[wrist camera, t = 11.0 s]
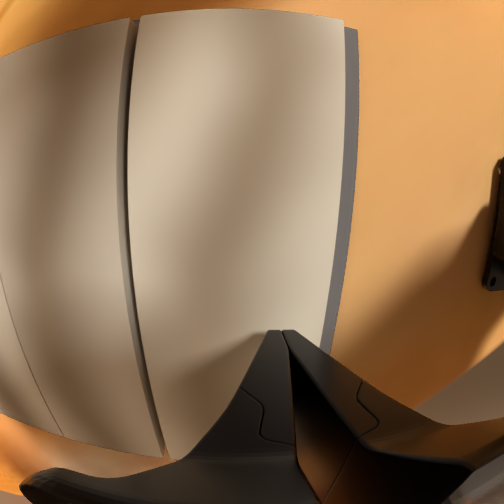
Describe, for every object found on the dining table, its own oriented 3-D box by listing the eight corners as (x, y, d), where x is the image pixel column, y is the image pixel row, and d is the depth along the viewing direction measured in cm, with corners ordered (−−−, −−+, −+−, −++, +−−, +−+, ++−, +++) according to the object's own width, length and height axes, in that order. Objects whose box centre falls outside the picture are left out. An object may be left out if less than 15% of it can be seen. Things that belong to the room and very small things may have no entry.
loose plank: (333, 33, 8) (343, 20, 6) (289, 446, 13) (291, 462, 12) (151, 29, 7) (140, 15, 6) (173, 441, 13) (169, 458, 12)
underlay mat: (354, 32, 8) (357, 29, 8) (306, 437, 13) (307, 441, 13) (-49, 90, 7) (-53, 90, 6) (4, 396, 12) (2, 399, 12)
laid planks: (140, 30, 7) (129, 17, 6) (166, 440, 13) (163, 458, 12) (-53, 98, 7) (-68, 98, 5) (4, 400, 12) (-4, 411, 11)
